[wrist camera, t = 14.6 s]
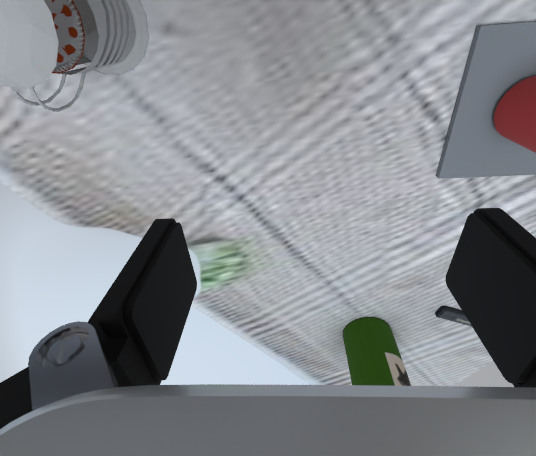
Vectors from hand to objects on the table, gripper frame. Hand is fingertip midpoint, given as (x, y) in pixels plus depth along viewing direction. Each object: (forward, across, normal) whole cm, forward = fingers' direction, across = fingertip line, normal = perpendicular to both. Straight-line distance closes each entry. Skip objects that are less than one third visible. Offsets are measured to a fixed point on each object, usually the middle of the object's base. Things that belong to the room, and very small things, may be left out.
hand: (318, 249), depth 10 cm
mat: (+28, -25, +3) cm, 38 cm away
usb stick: (+29, -29, +38) cm, 56 cm away
